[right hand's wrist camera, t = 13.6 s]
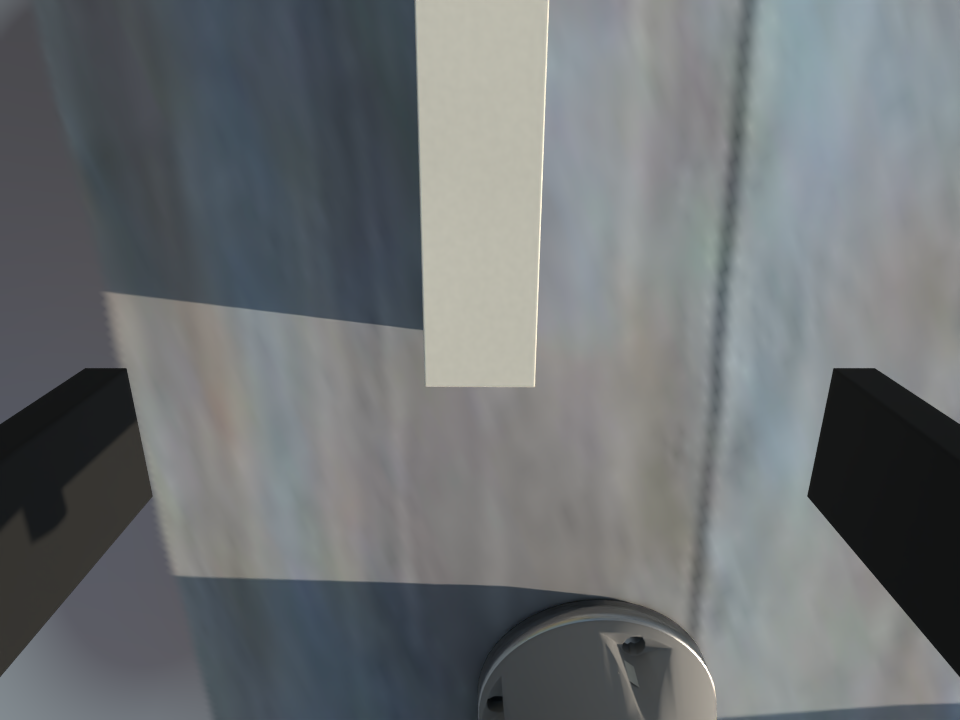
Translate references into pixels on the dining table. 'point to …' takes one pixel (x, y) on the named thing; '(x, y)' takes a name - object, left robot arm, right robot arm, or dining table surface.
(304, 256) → the dining table surface
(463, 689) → the dining table surface
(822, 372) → the dining table surface
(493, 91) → the beam
